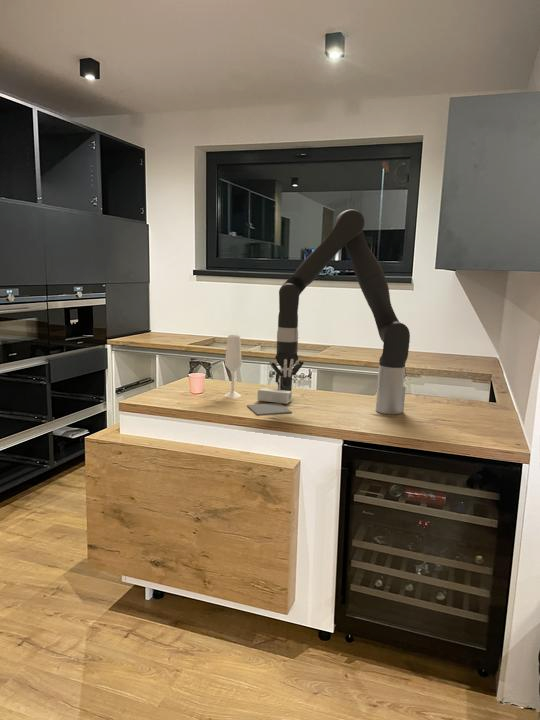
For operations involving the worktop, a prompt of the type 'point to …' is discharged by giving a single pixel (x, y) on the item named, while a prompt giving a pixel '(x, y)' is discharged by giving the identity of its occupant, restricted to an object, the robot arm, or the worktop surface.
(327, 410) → the worktop surface
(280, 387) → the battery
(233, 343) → the champagne flute
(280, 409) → the mat
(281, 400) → the skincare box
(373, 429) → the worktop surface
